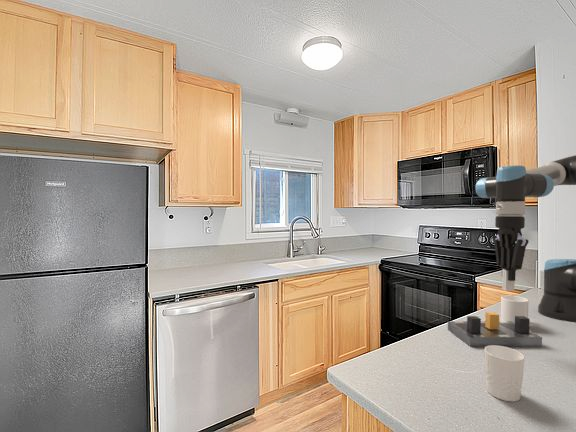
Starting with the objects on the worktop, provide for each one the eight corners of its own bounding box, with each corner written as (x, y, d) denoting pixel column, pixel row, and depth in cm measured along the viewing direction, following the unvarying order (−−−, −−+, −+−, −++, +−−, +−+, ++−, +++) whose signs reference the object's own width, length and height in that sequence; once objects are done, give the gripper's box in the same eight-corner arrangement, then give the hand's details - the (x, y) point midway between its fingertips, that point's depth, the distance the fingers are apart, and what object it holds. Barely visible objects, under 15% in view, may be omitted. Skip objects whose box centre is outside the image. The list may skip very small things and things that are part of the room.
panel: (510, 329, 115) (511, 307, 114) (541, 346, 101) (542, 321, 100) (447, 329, 115) (448, 307, 114) (469, 346, 101) (470, 321, 100)
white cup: (476, 384, 79) (477, 345, 79) (505, 383, 80) (506, 344, 79) (500, 404, 71) (500, 361, 71) (532, 402, 72) (533, 359, 72)
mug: (509, 318, 126) (510, 292, 126) (535, 324, 120) (535, 297, 119) (496, 324, 119) (497, 297, 119) (522, 331, 113) (523, 303, 112)
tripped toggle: (493, 326, 109) (494, 312, 108) (498, 329, 106) (499, 314, 106) (485, 326, 109) (485, 312, 108) (489, 329, 106) (490, 314, 106)
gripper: (484, 214, 105) (483, 284, 106) (513, 216, 92) (511, 296, 93) (507, 214, 105) (505, 284, 106) (538, 216, 92) (536, 296, 93)
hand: (508, 290), depth 99 cm, fingers closed
